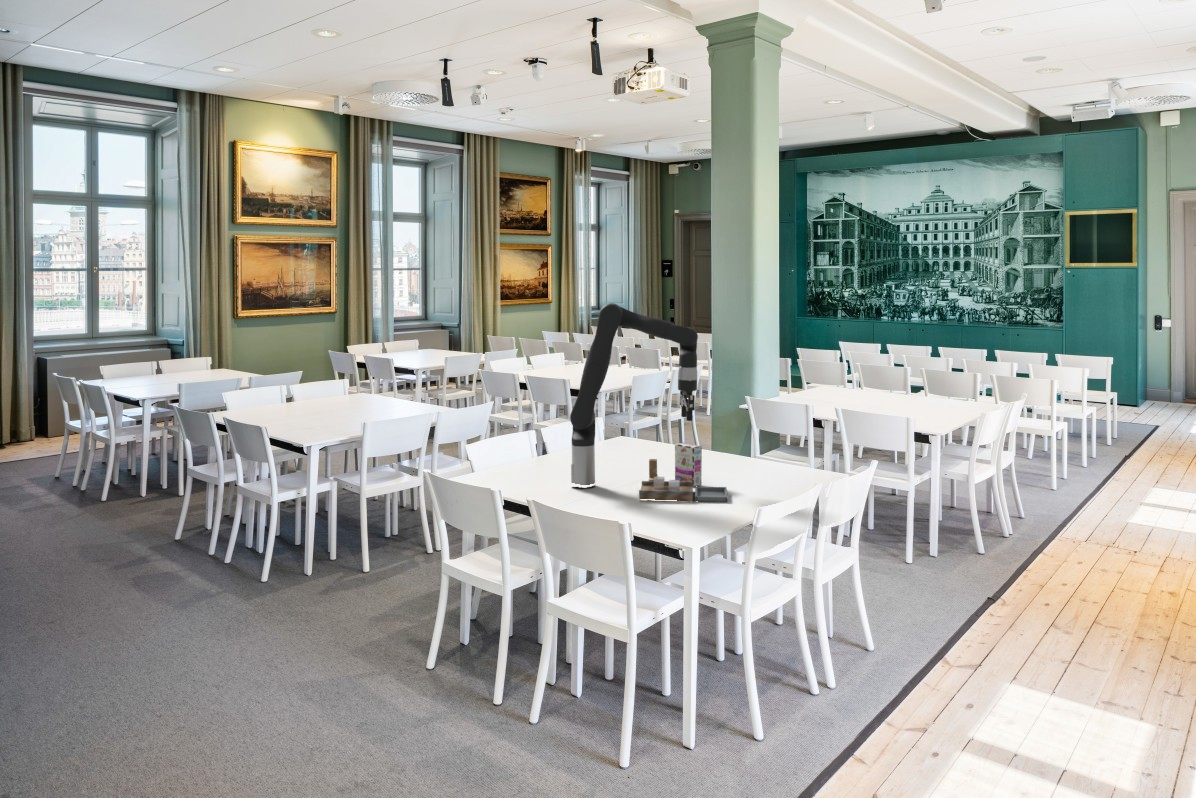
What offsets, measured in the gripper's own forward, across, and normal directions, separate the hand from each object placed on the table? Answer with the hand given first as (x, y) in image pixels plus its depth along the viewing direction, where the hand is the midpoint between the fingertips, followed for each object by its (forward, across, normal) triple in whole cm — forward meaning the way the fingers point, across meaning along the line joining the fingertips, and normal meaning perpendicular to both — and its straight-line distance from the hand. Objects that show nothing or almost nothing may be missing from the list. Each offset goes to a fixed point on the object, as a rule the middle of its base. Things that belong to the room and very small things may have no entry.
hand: (686, 418), depth 357 cm
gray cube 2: (+25, +15, -8) cm, 31 cm away
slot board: (+28, +13, -10) cm, 32 cm away
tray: (+28, +17, +6) cm, 33 cm away
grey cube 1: (+26, +9, -13) cm, 30 cm away
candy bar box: (+28, -5, +2) cm, 28 cm away
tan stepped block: (+28, -4, -12) cm, 31 cm away
